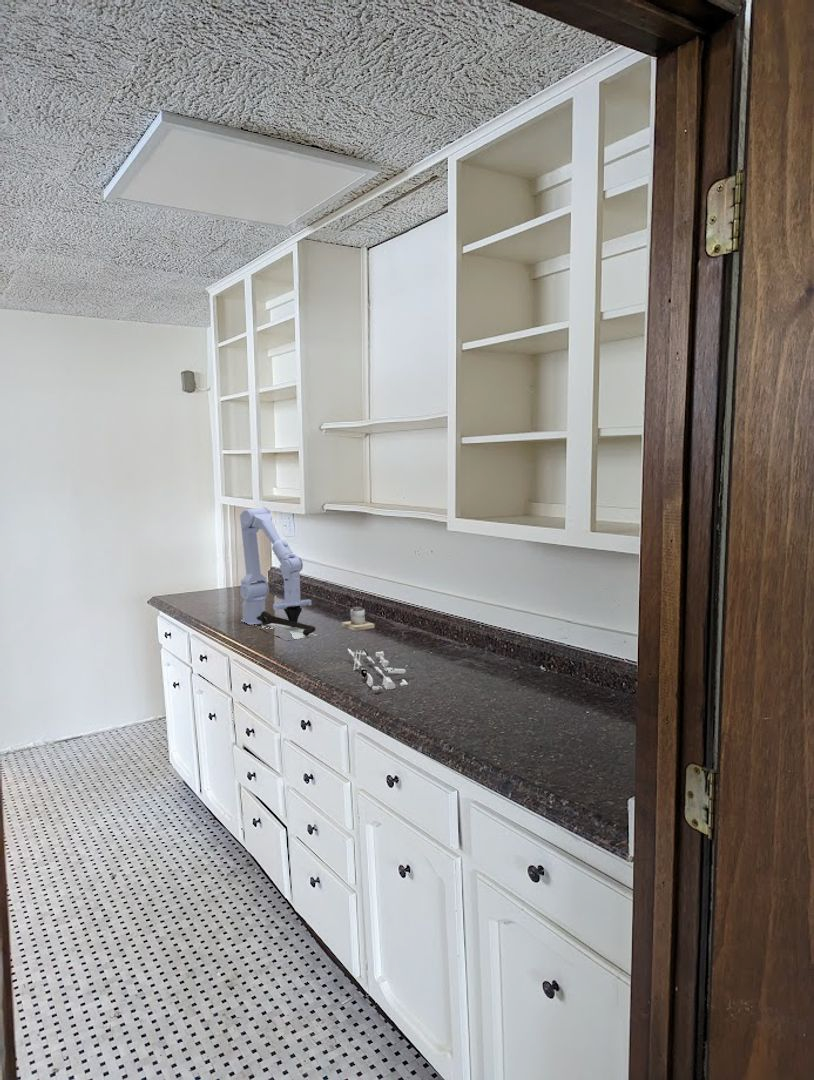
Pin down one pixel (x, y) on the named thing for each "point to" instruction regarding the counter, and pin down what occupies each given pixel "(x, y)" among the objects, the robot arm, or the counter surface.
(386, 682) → the miniature set
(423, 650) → the counter surface
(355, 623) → the cup on beige base
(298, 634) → the tool mat
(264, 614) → the dark brown hooked rod
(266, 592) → the robot arm
